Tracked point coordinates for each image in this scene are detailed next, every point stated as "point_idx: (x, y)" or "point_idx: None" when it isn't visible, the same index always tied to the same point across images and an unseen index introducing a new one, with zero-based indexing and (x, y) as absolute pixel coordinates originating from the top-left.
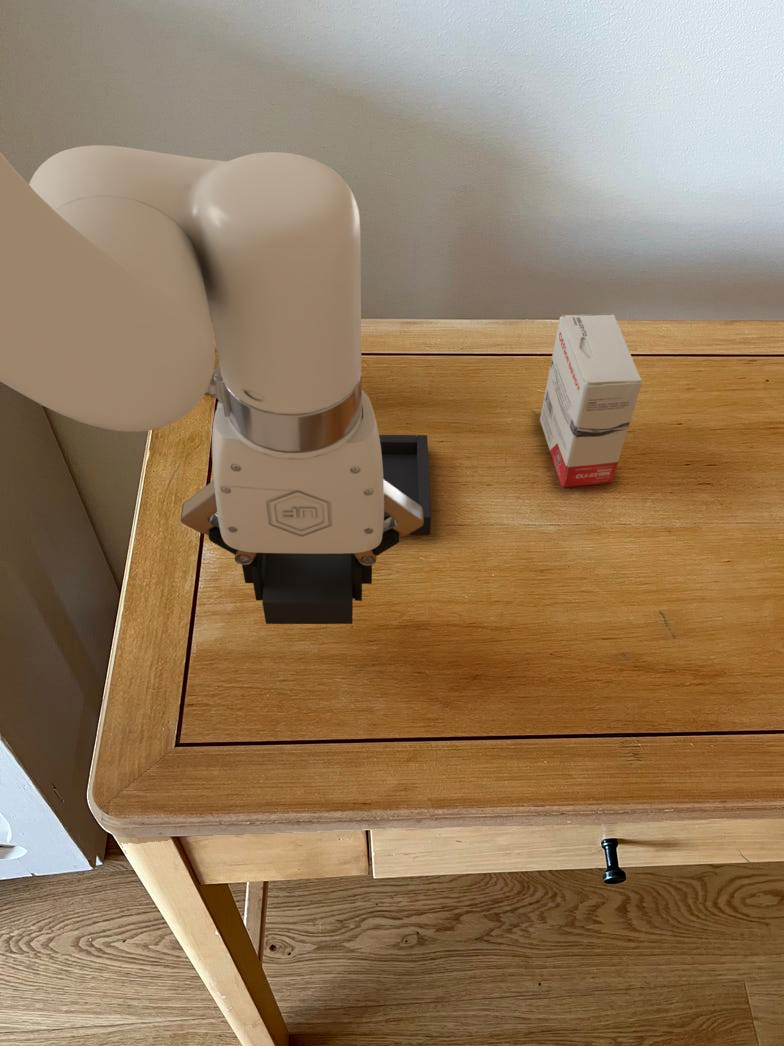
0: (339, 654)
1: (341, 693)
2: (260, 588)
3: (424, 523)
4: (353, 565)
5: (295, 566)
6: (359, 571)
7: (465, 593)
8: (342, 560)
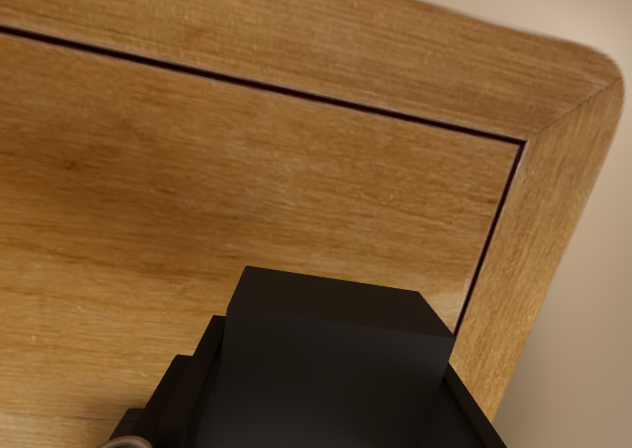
0: (282, 243)
1: (289, 179)
2: (444, 375)
3: (122, 432)
4: (187, 437)
5: (355, 423)
6: (171, 412)
7: (80, 313)
8: (237, 427)
